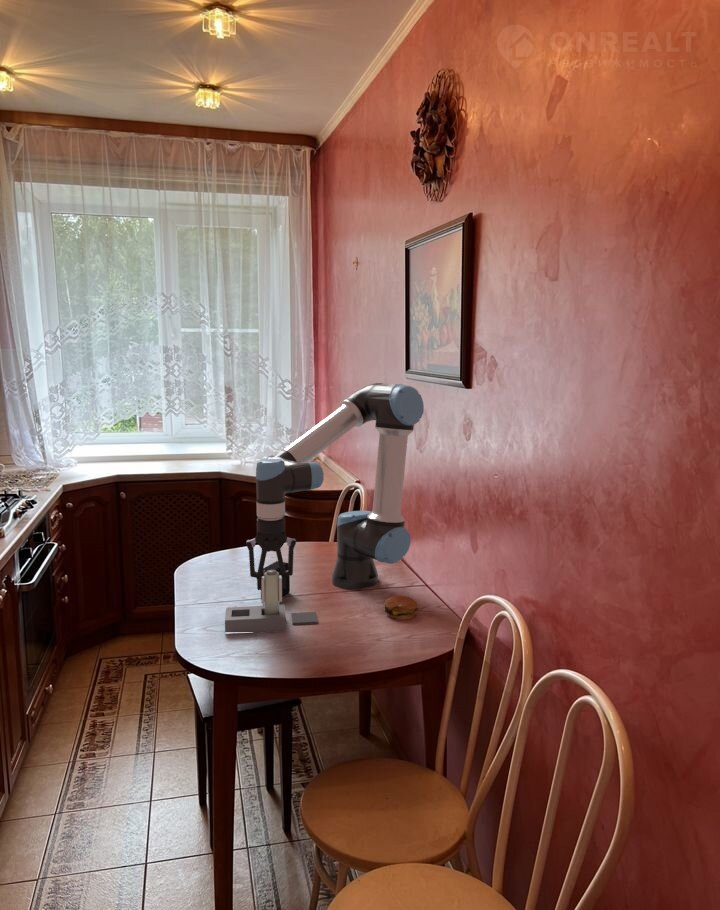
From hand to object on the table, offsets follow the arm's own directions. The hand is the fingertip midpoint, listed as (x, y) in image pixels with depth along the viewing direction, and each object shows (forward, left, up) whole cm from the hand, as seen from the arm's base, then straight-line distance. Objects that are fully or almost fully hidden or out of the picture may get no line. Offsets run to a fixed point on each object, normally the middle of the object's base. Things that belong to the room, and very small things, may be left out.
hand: (271, 600), depth 185 cm
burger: (-37, -3, -8) cm, 38 cm away
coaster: (-9, -3, -7) cm, 12 cm away
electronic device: (-2, -21, -7) cm, 22 cm away
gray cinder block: (+4, 0, -7) cm, 8 cm away
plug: (0, 0, -5) cm, 5 cm away
